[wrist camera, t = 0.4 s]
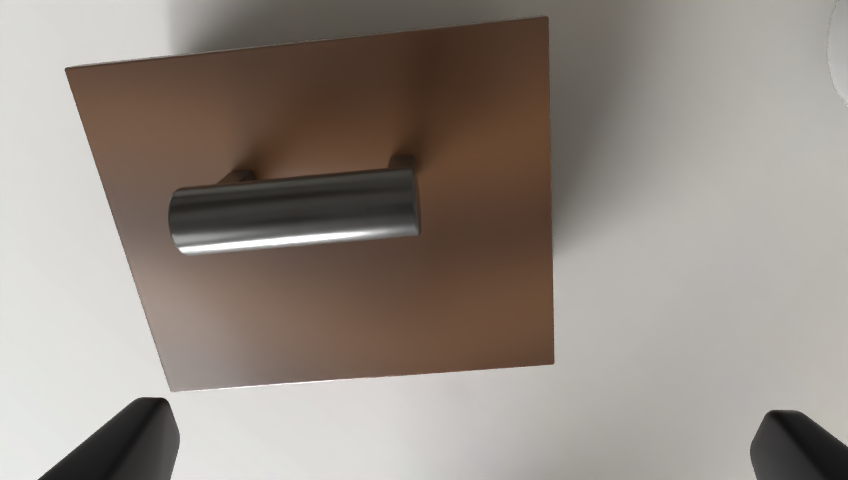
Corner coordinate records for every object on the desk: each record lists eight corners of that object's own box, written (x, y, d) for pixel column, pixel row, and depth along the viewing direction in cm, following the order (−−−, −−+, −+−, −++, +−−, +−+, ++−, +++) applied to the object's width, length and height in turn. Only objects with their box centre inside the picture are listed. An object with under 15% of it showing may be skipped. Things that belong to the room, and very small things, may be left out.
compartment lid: (80, 64, 16) (-51, 89, 12) (543, 15, 15) (585, 21, 11) (180, 378, 20) (110, 482, 15) (550, 350, 19) (583, 452, 15)
